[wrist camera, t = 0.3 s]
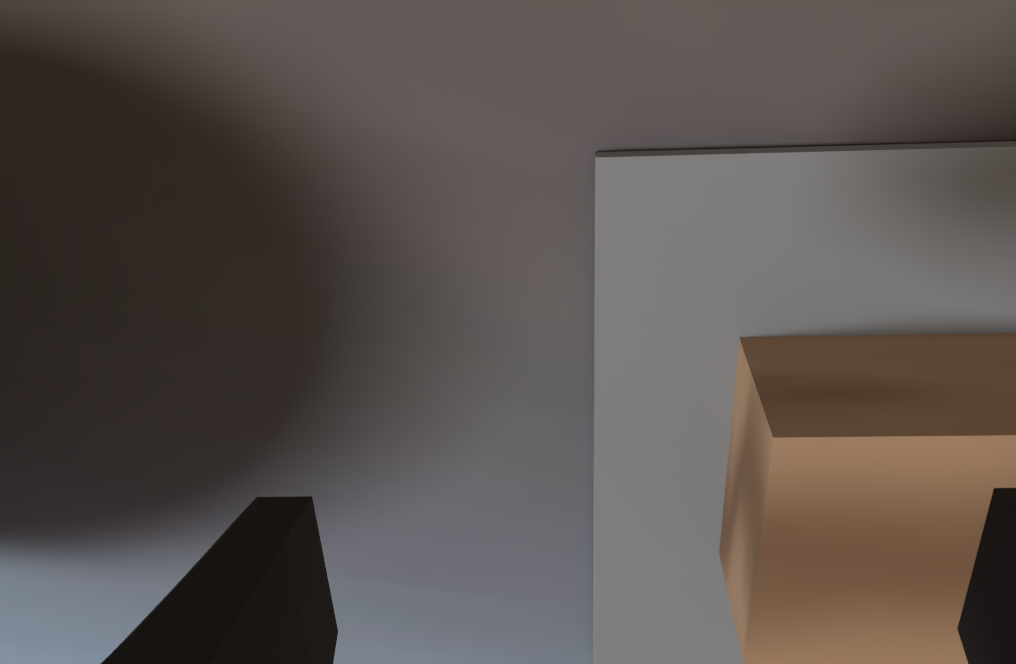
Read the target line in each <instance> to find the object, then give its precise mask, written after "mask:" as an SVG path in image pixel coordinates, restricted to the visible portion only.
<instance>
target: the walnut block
mask: <svg viewBox="0 0 1016 664" xmlns="http://www.w3.org/2000/svg"><path fill="white" fill-rule="evenodd" d="M994 488H1016V333H988V334H923V335H858V336H794V337H739V345H738V355H737V366H736V377H735V387H734V398H733V409H732V420H731V430H730V441H729V452H728V463H727V473H726V484H725V495H724V506H723V516H722V527H721V538H720V549H719V555H720V559H721V564H722V568H723V573H724V578H725V582H726V587H727V592H728V596H729V601H730V605H731V610H732V615H733V619H734V624H735V628H736V633H737V638H738V642H739V647H740V651H741V656H742V661H743V664H968V661H967V658H966V655H965V652H964V648H963V645H962V642H961V639H960V636H959V633H958V630H957V628H958V624H959V620H960V617H961V613H962V609H963V605H964V601H965V597H966V594H967V590H968V586H969V582H970V578H971V574H972V571H973V567H974V563H975V559H976V555H977V551H978V547H979V544H980V540H981V536H982V532H983V528H984V524H985V521H986V517H987V513H988V509H989V505H990V501H991V498H992V494H993V490H994Z"/></svg>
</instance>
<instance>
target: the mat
mask: <svg viewBox="0 0 1016 664" xmlns="http://www.w3.org/2000/svg"><path fill="white" fill-rule="evenodd" d="M988 333H1016V141H1001V142H963V143H925V144H887V145H849V146H810V147H772V148H734V149H696V150H658V151H620V152H595V279H594V496H593V664H743V661H742V656H741V651H740V647H739V642H738V638H737V633H736V628H735V624H734V619H733V615H732V610H731V605H730V601H729V596H728V592H727V587H726V582H725V578H724V573H723V568H722V564H721V559H720V555H719V549H720V538H721V527H722V516H723V506H724V495H725V484H726V473H727V463H728V452H729V441H730V430H731V420H732V409H733V398H734V387H735V377H736V366H737V355H738V345H739V337H794V336H858V335H923V334H988Z"/></svg>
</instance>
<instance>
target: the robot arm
mask: <svg viewBox="0 0 1016 664" xmlns="http://www.w3.org/2000/svg"><path fill="white" fill-rule="evenodd" d="M957 630H958V633H959V636H960V639H961V642H962V645H963V648H964V652H965V655H966V658H967V661H968V664H1016V488H994V490H993V494H992V498H991V501H990V505H989V509H988V513H987V517H986V521H985V524H984V528H983V532H982V536H981V540H980V544H979V547H978V551H977V555H976V559H975V563H974V567H973V571H972V574H971V578H970V582H969V586H968V590H967V594H966V597H965V601H964V605H963V609H962V613H961V617H960V620H959V624H958V628H957ZM337 634H338V629H337V624H336V619H335V614H334V609H333V603H332V598H331V593H330V588H329V583H328V578H327V572H326V567H325V562H324V557H323V552H322V546H321V541H320V536H319V531H318V526H317V520H316V515H315V510H314V505H313V500H312V497H257V498H256V499H255V500H254V501H253V502H252V503H251V504H250V505H249V506H248V507H247V508H246V509H245V510H244V511H243V512H242V513H241V514H240V515H239V517H238V518H237V519H236V520H235V521H234V522H233V523H232V524H231V525H230V526H229V528H228V529H227V530H226V531H225V532H224V533H223V534H222V535H221V536H220V538H219V539H218V540H217V541H216V542H215V543H214V544H213V545H212V546H211V548H210V549H209V550H208V551H207V552H206V553H205V554H204V555H203V556H202V558H201V559H200V560H199V561H198V562H197V563H196V564H195V565H194V566H193V567H192V569H191V570H190V571H189V572H188V573H187V574H186V575H185V576H184V577H183V578H182V580H181V581H180V582H179V583H178V584H177V585H176V586H175V587H174V588H173V589H172V590H171V592H170V593H169V594H168V595H167V596H166V597H165V598H164V599H163V600H162V601H161V602H160V603H159V604H158V605H157V606H156V607H155V608H154V609H153V611H152V612H151V613H150V614H149V615H148V616H147V617H146V618H145V619H144V620H143V621H142V622H141V623H140V624H139V625H138V626H137V627H136V628H135V629H134V631H133V632H132V633H131V634H130V635H129V636H128V637H127V638H126V639H125V640H124V641H123V642H122V643H121V644H120V645H119V646H118V647H117V648H116V649H115V650H114V651H113V652H112V653H111V654H110V655H109V656H108V657H107V658H106V659H105V660H104V661H103V662H102V663H101V664H333V660H334V653H335V647H336V640H337Z"/></svg>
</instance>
